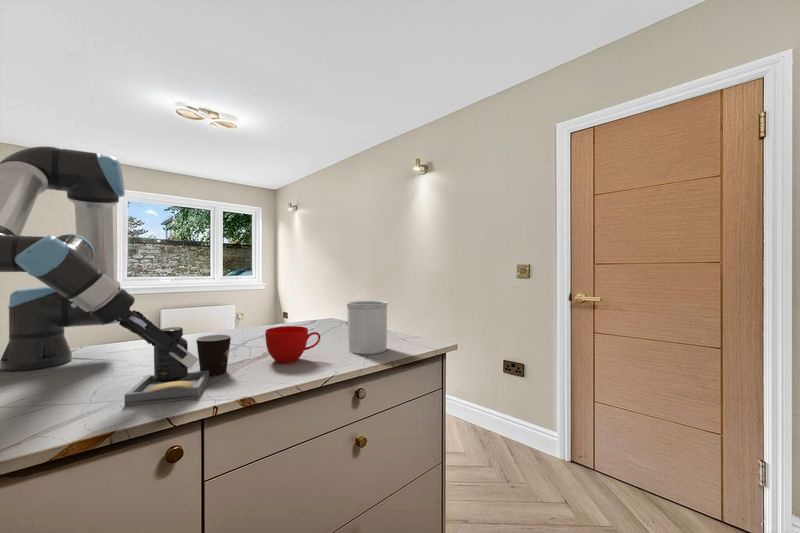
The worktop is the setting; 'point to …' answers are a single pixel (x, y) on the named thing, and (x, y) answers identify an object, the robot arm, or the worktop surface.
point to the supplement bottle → (169, 359)
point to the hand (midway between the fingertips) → (187, 360)
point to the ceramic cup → (288, 342)
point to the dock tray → (167, 389)
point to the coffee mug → (213, 353)
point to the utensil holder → (367, 326)
